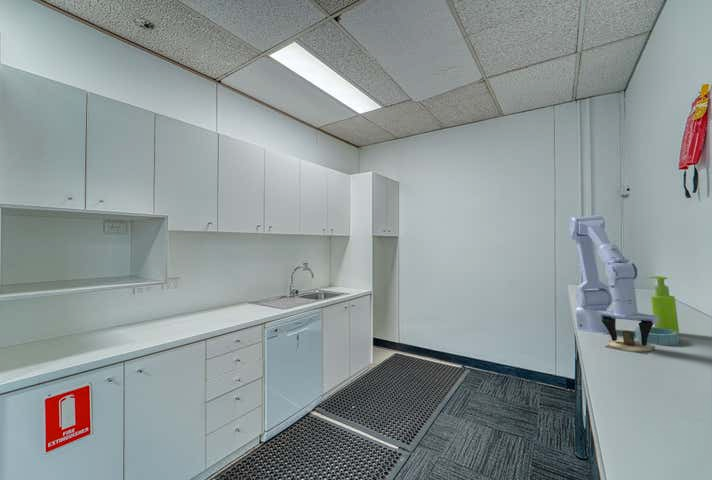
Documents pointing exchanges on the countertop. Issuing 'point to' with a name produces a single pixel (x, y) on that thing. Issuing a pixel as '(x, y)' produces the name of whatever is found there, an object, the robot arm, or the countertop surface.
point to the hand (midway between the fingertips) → (629, 342)
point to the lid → (629, 343)
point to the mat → (634, 352)
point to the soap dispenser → (664, 306)
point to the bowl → (660, 336)
